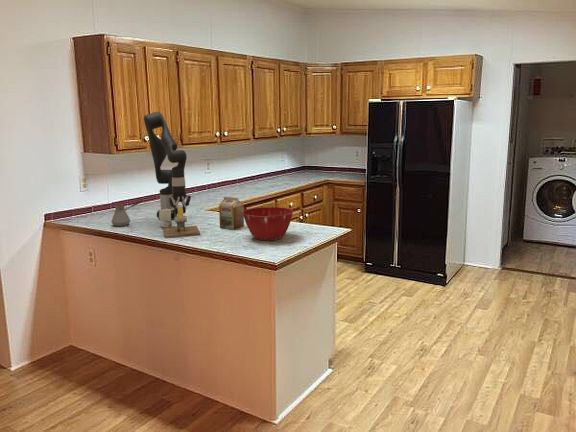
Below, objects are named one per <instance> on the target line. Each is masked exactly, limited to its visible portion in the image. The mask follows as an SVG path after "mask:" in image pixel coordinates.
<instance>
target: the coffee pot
mask: <svg viewBox="0 0 576 432" xmlns="http://www.w3.org/2000/svg"><path fill="white" fill-rule="evenodd" d="M142 202H143V204H144V203H145V201H144V199H142V200H139V201H137V202H135V203H134V204H132V205H130V206H128V207H126V208H125V206H126V204H116V205H114V208H115V210H114V213H113V215H112V218H111V224H112V225H113V226H115V227H116V228H117V227H127V226H128V225H129V224H130V223H131V219H130V217H129V215H128V213H127V210H129V209H130V208H132V207H135V206H137V205H139V204H140V203H142Z"/></svg>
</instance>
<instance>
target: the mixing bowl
mask: <svg viewBox="0 0 576 432" xmlns="http://www.w3.org/2000/svg"><path fill="white" fill-rule="evenodd" d="M242 213H243V215H244V223H245V224H246V226H247V229H248V231H249V232H250V234H251V236H253V238H255V239H257V240H259V241H268V242H270V241H277V240H280V239H281V238H282V237H284V236H285V234H286V233H287V231H288V229H289V227H290V225H291V221H292V218H293V213H294V210H293V209H291V208H287V207H281V206H279V207H277V206H267V207H266V206H263V207H253V208H249V209H245V210H244V211H243V212H242Z"/></svg>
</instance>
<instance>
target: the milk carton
mask: <svg viewBox="0 0 576 432" xmlns="http://www.w3.org/2000/svg"><path fill="white" fill-rule="evenodd" d="M244 208H245V207H244V203H243V202H241V201H240V200H239V197H234V196H233V197H231V196H223V200H222V201H221V202H220V203H219V206H218V210H219V211H218V213H219V229H220V228H221V230H229V231H236V230H239V229H242V228H244V227H245V219H244V215H243V213H242V212H243V211H244Z"/></svg>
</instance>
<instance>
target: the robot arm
mask: <svg viewBox="0 0 576 432" xmlns="http://www.w3.org/2000/svg"><path fill="white" fill-rule="evenodd" d="M143 122H144V126H145V129H146V133H147V137H148V143H149V146H150V151H151V152H150V153H151V157H152V160H153V164H154V171H155V178H156V182H157V184H160V185H161V184H163V185H164V184H165V185H166V187H163V188H161V189H159V202H160V203H159V204H160V209H166V208H167V209H174V212H175V214H177V215H178V208H177V207H178V205H179V204H181V205H182V207H183V214H186V212H187V210H186V209H187V206H189V205H190V202H191V198H192V196H191V195H190V194H189V195H188V194H187V191H186V179H185V167H186V162H187V157H188V155H187V153H186V151H185V149H178V143H177V142H176V141H175V139H174V137H173V136H172V134H171V132H170V129H169V127H168V125H167V123H166V120H165V118H164V115H163V114H162V113H161V112H160V111H155V112H151V113H147V114H145V115H144V116H143ZM159 128H161V135H160V138H159V136H157V134H155V132H154V130H155V129H159ZM166 157H167V160H168V161H169V162H170V164H171V163H172V164H177V165H176V166H173V167H172V168H171V169H161V168H162V165H163V162H164V161H165V159H166ZM167 184H168V185H167ZM173 221H175V219H174V220H173Z"/></svg>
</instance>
